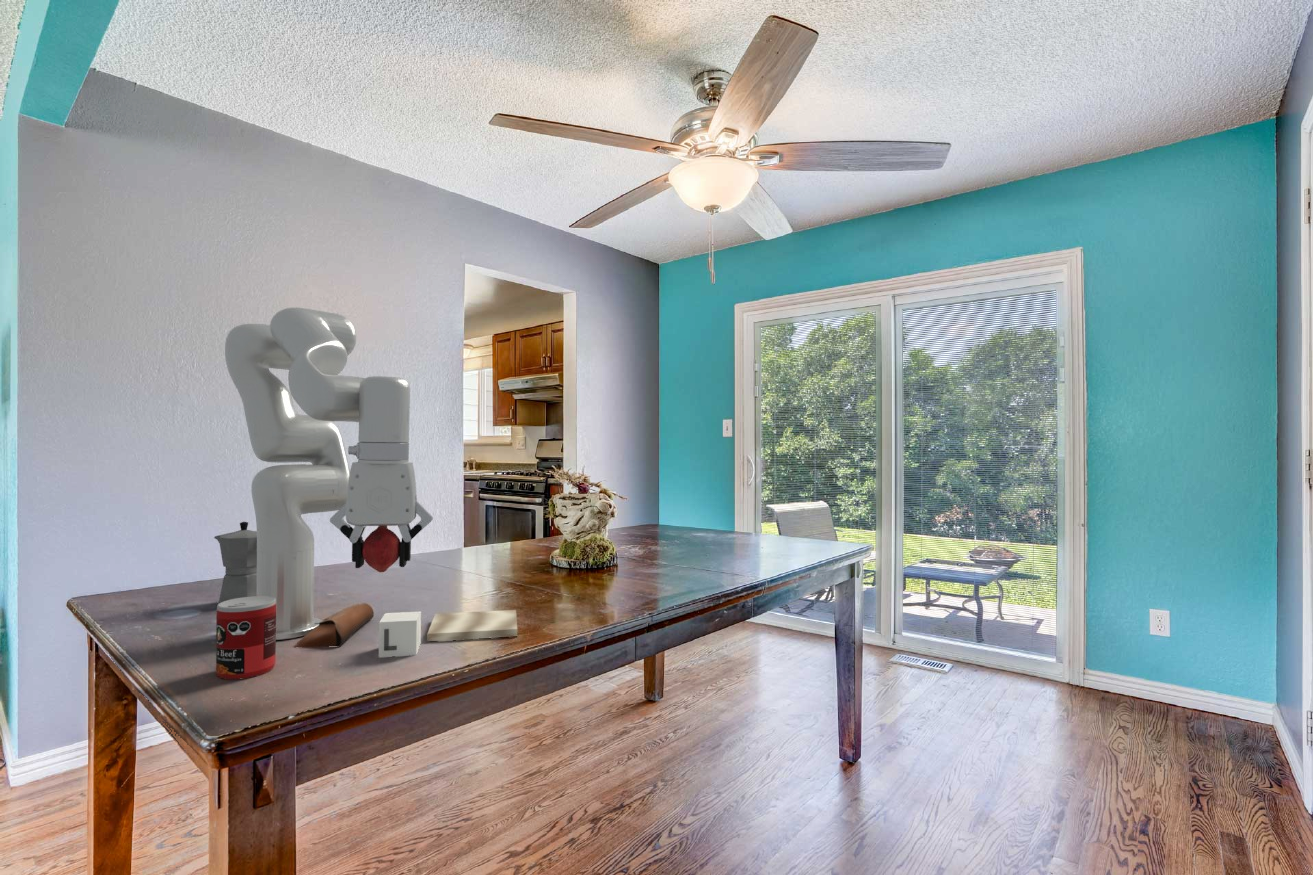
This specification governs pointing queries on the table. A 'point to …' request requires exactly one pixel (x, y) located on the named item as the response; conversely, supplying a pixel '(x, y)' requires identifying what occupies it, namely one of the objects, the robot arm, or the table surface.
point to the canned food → (245, 637)
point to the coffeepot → (239, 563)
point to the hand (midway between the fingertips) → (381, 564)
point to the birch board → (472, 625)
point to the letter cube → (399, 634)
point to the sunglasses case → (338, 627)
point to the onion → (381, 549)
